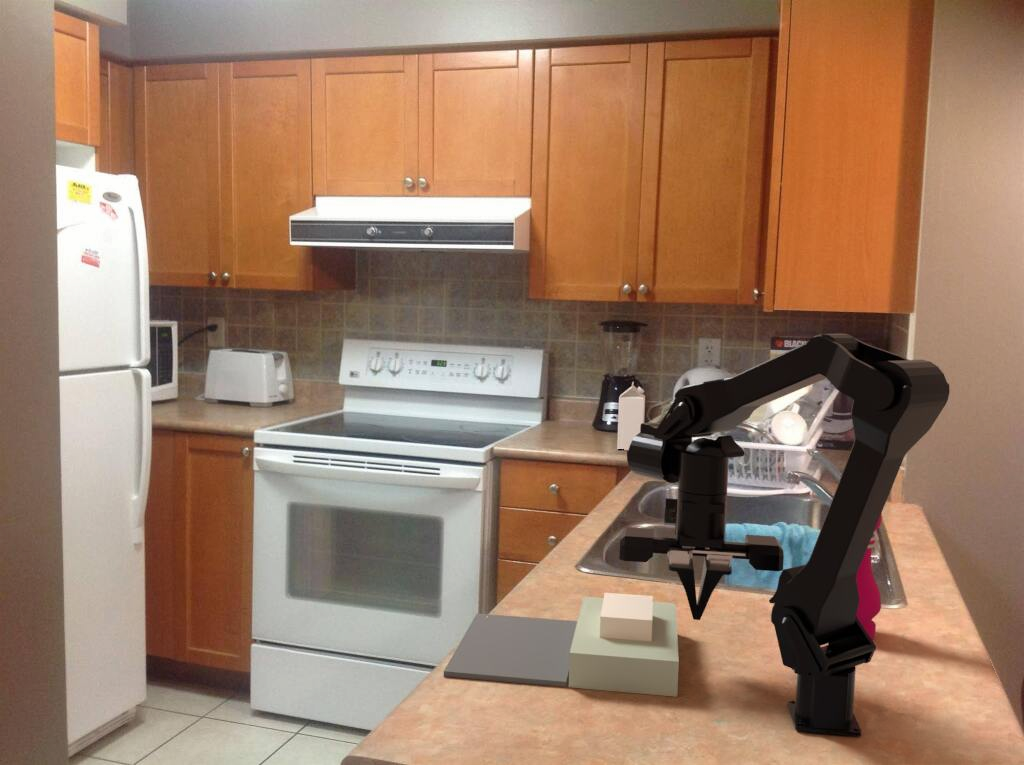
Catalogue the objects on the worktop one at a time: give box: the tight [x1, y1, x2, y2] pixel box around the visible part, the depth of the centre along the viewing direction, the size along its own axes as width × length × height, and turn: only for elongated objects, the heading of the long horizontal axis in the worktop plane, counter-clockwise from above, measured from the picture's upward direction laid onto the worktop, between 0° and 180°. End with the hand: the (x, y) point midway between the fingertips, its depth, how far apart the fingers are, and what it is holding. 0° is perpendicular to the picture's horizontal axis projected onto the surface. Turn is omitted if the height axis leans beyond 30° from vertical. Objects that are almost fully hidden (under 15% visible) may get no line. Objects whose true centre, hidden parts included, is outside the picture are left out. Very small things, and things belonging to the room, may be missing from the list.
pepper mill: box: [856, 514, 883, 640], centre depth 125 cm, size 7×7×20 cm
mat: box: [443, 613, 578, 688], centre depth 117 cm, size 20×14×1 cm
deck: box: [568, 596, 680, 698], centre depth 115 cm, size 20×12×4 cm, turn 171°
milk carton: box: [616, 381, 646, 451], centre depth 270 cm, size 7×7×19 cm
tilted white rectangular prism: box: [600, 592, 654, 641], centre depth 115 cm, size 9×6×2 cm, turn 171°
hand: (696, 618), depth 114 cm, fingers closed
